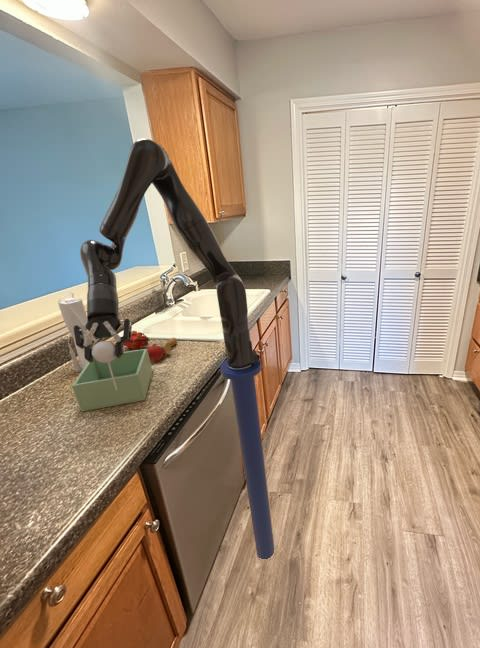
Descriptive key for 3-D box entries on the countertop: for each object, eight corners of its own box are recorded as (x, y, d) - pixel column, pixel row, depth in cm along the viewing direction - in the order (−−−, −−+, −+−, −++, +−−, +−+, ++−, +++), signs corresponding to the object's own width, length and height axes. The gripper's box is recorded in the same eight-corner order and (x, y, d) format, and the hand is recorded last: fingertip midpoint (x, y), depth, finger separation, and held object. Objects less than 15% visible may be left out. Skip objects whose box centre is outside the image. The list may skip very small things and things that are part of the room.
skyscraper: (81, 363, 126) (57, 293, 115) (104, 359, 128) (82, 290, 117) (75, 373, 119) (48, 299, 108) (100, 368, 121) (76, 296, 110)
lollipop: (128, 382, 95) (115, 335, 89) (129, 391, 90) (115, 343, 84) (104, 388, 92) (89, 340, 86) (104, 398, 87) (87, 348, 81)
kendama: (164, 347, 140) (140, 361, 123) (165, 333, 138) (140, 345, 121) (181, 350, 139) (159, 364, 122) (182, 336, 138) (160, 349, 120)
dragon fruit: (124, 350, 139) (151, 354, 138) (112, 347, 131) (141, 351, 130) (129, 331, 141) (156, 335, 140) (118, 326, 132) (146, 330, 132)
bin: (152, 370, 118) (147, 348, 114) (144, 400, 100) (137, 374, 97) (99, 379, 113) (91, 356, 110) (81, 411, 96) (71, 385, 92)
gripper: (67, 300, 86) (66, 359, 80) (126, 293, 89) (129, 349, 83) (80, 313, 92) (80, 368, 87) (134, 306, 96) (138, 358, 90)
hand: (104, 358), depth 85 cm, fingers closed on lollipop, 6 cm apart
